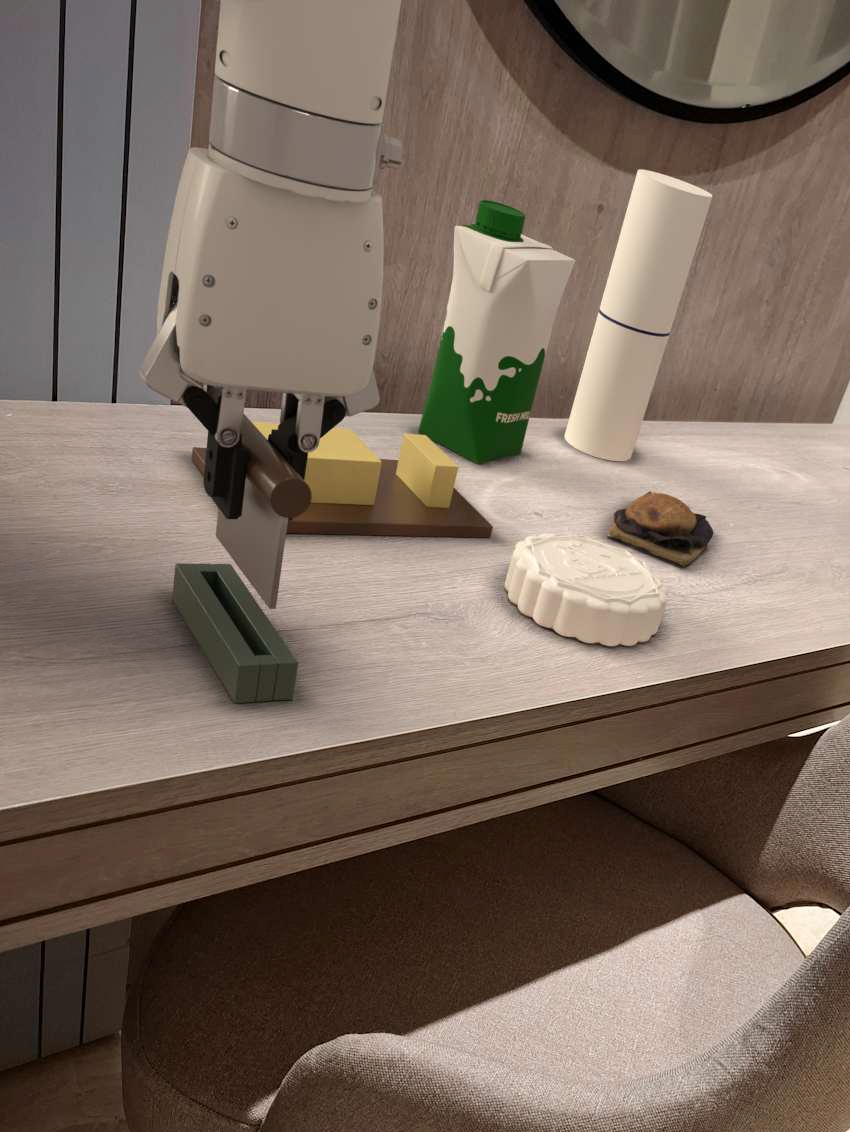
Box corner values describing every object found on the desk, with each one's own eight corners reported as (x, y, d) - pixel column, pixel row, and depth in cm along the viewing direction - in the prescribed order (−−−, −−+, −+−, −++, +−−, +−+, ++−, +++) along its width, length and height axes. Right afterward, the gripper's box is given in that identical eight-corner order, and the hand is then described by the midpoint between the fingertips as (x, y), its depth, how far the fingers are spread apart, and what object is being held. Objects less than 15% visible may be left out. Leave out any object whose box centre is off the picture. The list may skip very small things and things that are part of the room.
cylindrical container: (555, 441, 118) (628, 170, 105) (576, 426, 124) (649, 168, 111) (620, 467, 118) (703, 198, 104) (639, 450, 124) (719, 194, 110)
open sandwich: (687, 573, 101) (702, 534, 99) (598, 535, 102) (610, 495, 100) (717, 538, 110) (731, 501, 108) (634, 503, 110) (646, 466, 108)
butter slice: (426, 507, 93) (436, 465, 91) (395, 474, 97) (403, 433, 95) (449, 508, 94) (458, 466, 92) (417, 475, 98) (425, 434, 96)
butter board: (244, 532, 83) (245, 519, 82) (191, 459, 90) (192, 446, 89) (490, 537, 94) (493, 526, 94) (426, 472, 102) (428, 461, 101)
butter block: (272, 501, 86) (278, 455, 84) (244, 465, 89) (250, 421, 87) (374, 505, 90) (382, 462, 88) (343, 471, 94) (350, 428, 92)
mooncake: (590, 563, 96) (603, 523, 94) (688, 639, 90) (703, 597, 88) (472, 573, 88) (483, 529, 86) (570, 656, 82) (584, 611, 80)
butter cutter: (256, 613, 63) (273, 477, 59) (197, 532, 70) (209, 403, 66) (295, 613, 65) (314, 479, 61) (234, 532, 71) (248, 406, 67)
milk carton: (460, 419, 115) (509, 200, 104) (534, 457, 113) (593, 237, 102) (403, 429, 108) (449, 196, 97) (481, 470, 106) (537, 235, 95)
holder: (234, 703, 66) (239, 665, 64) (171, 599, 73) (175, 562, 71) (293, 700, 68) (299, 662, 66) (226, 598, 75) (230, 563, 73)
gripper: (415, 156, 62) (358, 485, 72) (92, 84, 53) (79, 473, 63) (480, 197, 58) (410, 542, 68) (140, 127, 48) (117, 539, 58)
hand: (251, 506), depth 65 cm, fingers closed on butter cutter, 2 cm apart
